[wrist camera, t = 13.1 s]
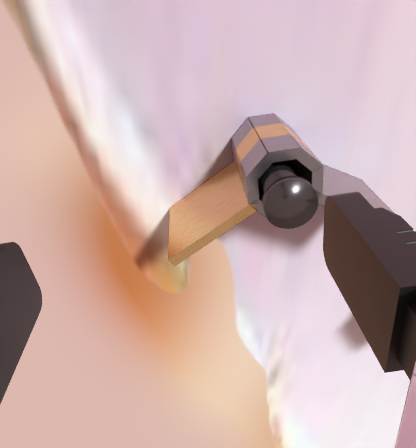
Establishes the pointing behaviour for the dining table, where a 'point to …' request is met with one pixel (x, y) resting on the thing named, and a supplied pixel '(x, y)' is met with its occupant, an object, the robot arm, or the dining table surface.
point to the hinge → (251, 185)
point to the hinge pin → (287, 196)
